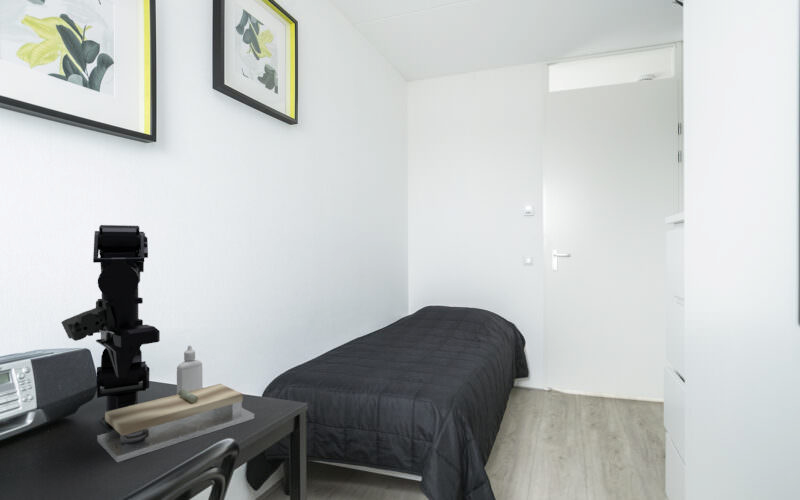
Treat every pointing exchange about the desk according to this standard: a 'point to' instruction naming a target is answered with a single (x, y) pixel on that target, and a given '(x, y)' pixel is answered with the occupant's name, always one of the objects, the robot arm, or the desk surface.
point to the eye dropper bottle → (189, 372)
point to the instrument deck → (171, 408)
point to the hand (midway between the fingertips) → (120, 377)
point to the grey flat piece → (172, 432)
